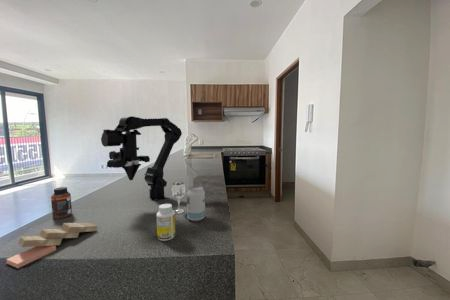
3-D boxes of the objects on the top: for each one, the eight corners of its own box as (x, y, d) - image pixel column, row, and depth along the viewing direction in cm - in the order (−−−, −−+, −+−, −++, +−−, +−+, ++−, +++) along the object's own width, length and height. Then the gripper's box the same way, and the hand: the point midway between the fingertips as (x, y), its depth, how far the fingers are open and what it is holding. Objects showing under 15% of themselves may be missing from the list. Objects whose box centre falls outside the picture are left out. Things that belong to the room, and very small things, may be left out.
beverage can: (205, 221, 72) (205, 190, 71) (186, 223, 70) (186, 191, 69) (204, 214, 78) (204, 185, 77) (187, 215, 77) (186, 186, 76)
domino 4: (90, 222, 68) (63, 223, 61) (97, 226, 65) (70, 227, 59) (88, 227, 67) (61, 228, 61) (95, 231, 65) (68, 232, 58)
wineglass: (188, 209, 83) (187, 182, 82) (181, 215, 78) (180, 185, 77) (176, 208, 85) (176, 181, 84) (169, 213, 79) (168, 184, 78)
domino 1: (56, 235, 59) (20, 236, 53) (62, 239, 56) (24, 240, 50) (54, 241, 59) (18, 242, 52) (59, 244, 56) (22, 247, 50)
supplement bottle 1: (75, 214, 78) (73, 187, 77) (57, 220, 73) (55, 191, 72) (66, 211, 81) (65, 185, 80) (49, 217, 75) (47, 189, 74)
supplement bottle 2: (169, 230, 65) (168, 201, 64) (179, 236, 62) (178, 205, 61) (153, 237, 61) (152, 206, 60) (163, 243, 57) (162, 210, 56)
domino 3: (72, 228, 63) (42, 229, 57) (79, 232, 61) (47, 232, 54) (70, 234, 63) (39, 234, 57) (77, 237, 60) (45, 238, 54)
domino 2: (45, 242, 56) (6, 259, 49) (55, 245, 54) (17, 263, 47) (45, 247, 56) (7, 265, 49) (56, 251, 54) (18, 270, 47)
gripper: (131, 144, 96) (133, 174, 97) (96, 146, 78) (98, 183, 80) (150, 144, 92) (151, 176, 94) (116, 146, 75) (118, 186, 76)
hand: (131, 180), depth 86 cm, fingers closed
